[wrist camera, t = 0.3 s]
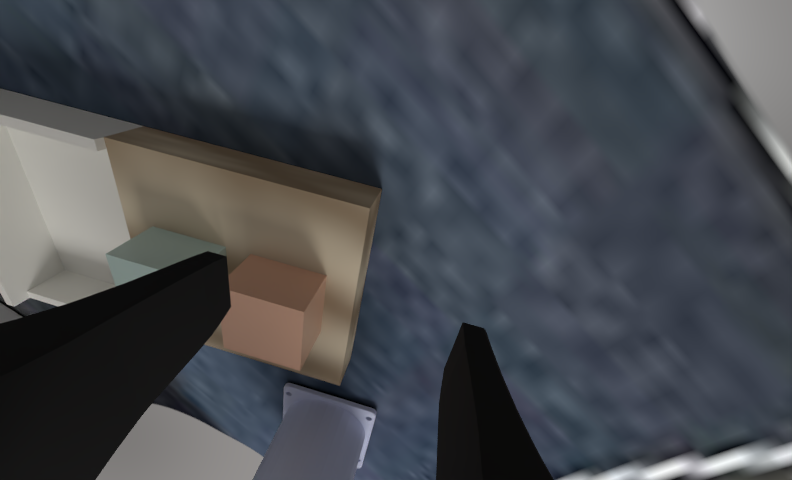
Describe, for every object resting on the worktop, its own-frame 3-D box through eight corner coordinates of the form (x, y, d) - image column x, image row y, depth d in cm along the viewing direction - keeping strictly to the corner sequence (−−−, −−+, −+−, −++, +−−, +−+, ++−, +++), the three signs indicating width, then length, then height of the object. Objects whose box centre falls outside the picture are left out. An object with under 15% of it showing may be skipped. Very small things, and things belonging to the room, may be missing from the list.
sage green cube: (230, 304, 22) (198, 340, 19) (165, 285, 22) (125, 317, 20) (225, 246, 19) (188, 278, 17) (152, 226, 20) (105, 254, 17)
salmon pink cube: (320, 331, 21) (300, 371, 19) (253, 311, 22) (223, 347, 19) (326, 275, 19) (303, 312, 17) (250, 253, 19) (216, 286, 17)
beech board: (350, 357, 26) (339, 385, 24) (179, 306, 27) (154, 329, 25) (382, 188, 19) (369, 208, 16) (143, 126, 20) (103, 137, 17)
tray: (179, 306, 27) (136, 344, 24) (64, 271, 28) (6, 304, 24) (143, 126, 20) (74, 145, 16) (-13, 84, 20) (-111, 94, 17)
